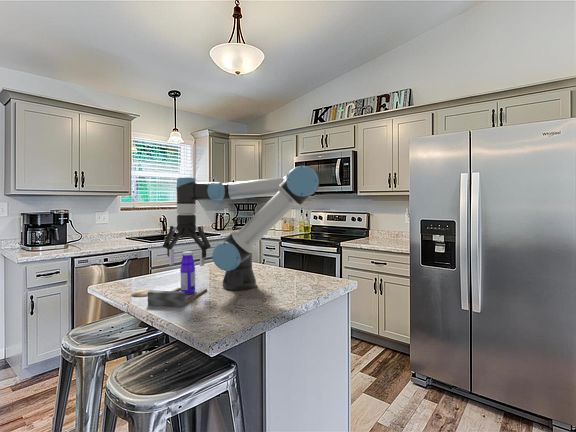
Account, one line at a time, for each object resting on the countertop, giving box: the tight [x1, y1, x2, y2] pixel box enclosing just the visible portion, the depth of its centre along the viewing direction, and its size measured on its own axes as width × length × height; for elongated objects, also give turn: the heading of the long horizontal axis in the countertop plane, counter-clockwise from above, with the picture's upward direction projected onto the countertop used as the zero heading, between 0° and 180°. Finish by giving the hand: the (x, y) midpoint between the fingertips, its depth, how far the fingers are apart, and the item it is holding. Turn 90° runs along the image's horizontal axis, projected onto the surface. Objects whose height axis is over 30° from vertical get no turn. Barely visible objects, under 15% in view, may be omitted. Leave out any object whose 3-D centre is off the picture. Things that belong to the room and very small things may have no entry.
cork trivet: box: [131, 289, 155, 298], centre depth 139 cm, size 9×9×1 cm
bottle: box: [179, 250, 196, 295], centre depth 139 cm, size 7×6×17 cm
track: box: [147, 287, 208, 308], centre depth 132 cm, size 14×22×5 cm, turn 171°
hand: (186, 265), depth 139 cm, fingers open, 13 cm apart
